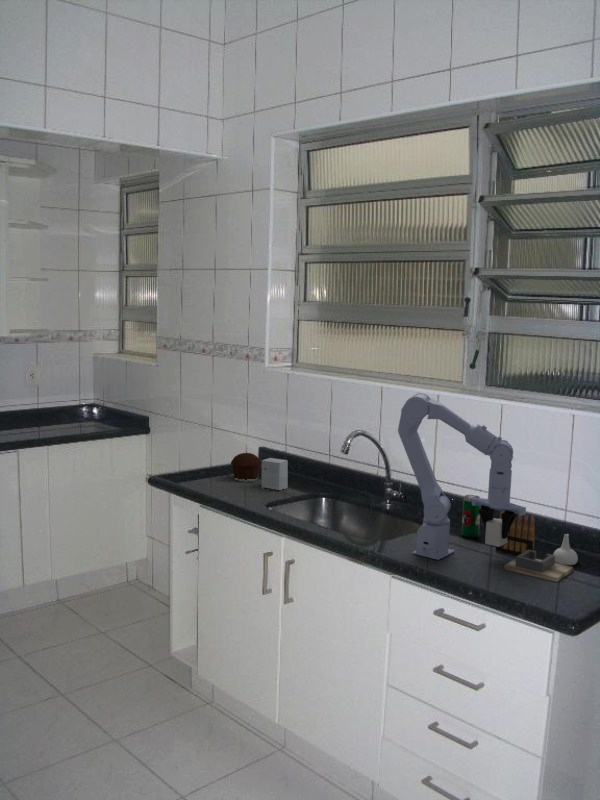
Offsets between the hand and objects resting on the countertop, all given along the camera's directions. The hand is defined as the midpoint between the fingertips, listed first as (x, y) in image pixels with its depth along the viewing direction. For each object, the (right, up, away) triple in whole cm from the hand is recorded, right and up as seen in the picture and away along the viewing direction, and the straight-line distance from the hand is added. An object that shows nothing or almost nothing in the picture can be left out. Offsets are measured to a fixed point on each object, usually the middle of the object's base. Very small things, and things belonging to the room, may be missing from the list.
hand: (496, 536), depth 210 cm
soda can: (-2, -4, +22) cm, 22 cm away
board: (+9, -8, -7) cm, 14 cm away
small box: (-62, +4, +74) cm, 97 cm away
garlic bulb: (+18, -7, 0) cm, 20 cm away
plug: (0, -2, 0) cm, 2 cm away
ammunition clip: (+7, -6, +6) cm, 11 cm away
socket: (+8, -8, -6) cm, 13 cm away
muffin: (-73, +6, +87) cm, 114 cm away
